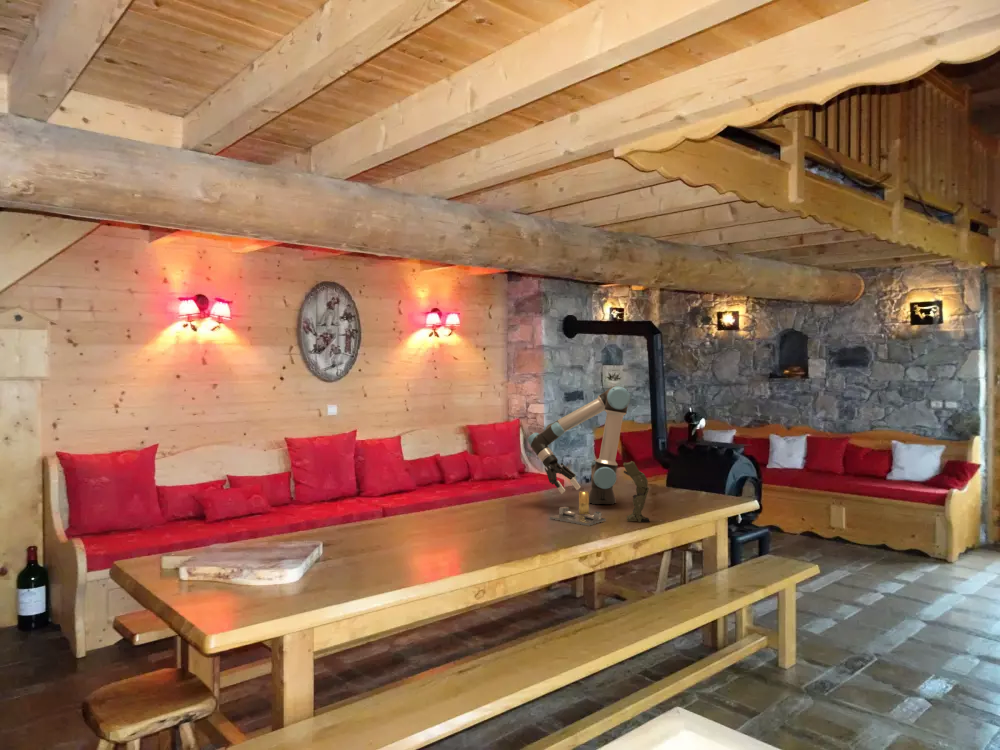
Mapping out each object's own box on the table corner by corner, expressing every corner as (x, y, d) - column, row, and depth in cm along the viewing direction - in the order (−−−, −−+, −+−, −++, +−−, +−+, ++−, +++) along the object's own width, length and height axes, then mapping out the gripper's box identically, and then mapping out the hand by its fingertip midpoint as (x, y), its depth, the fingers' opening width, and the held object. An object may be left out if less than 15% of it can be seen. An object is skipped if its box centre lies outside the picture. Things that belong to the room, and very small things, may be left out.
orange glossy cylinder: (583, 512, 363) (583, 490, 363) (590, 513, 359) (591, 492, 359) (576, 513, 360) (576, 491, 360) (584, 515, 356) (584, 493, 356)
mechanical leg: (656, 517, 345) (641, 457, 346) (657, 521, 338) (642, 459, 339) (628, 524, 347) (613, 464, 347) (629, 527, 339) (614, 466, 340)
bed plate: (549, 519, 346) (549, 509, 346) (566, 514, 357) (566, 505, 357) (589, 526, 331) (589, 516, 331) (605, 521, 342) (605, 511, 342)
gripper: (558, 460, 384) (580, 491, 375) (529, 465, 365) (552, 498, 356) (566, 451, 381) (589, 482, 371) (537, 456, 362) (561, 488, 352)
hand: (571, 490), depth 363 cm, fingers open, 13 cm apart
